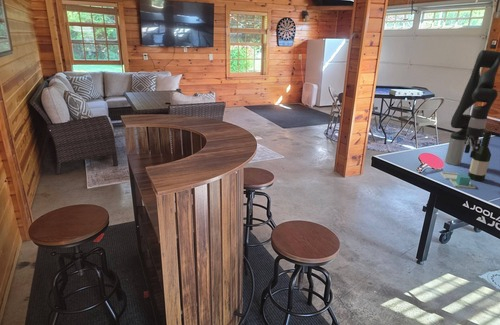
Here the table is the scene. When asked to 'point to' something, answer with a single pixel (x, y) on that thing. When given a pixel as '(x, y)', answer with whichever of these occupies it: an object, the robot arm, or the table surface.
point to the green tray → (462, 186)
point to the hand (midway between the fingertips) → (469, 155)
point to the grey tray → (449, 175)
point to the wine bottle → (481, 159)
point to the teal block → (463, 180)
